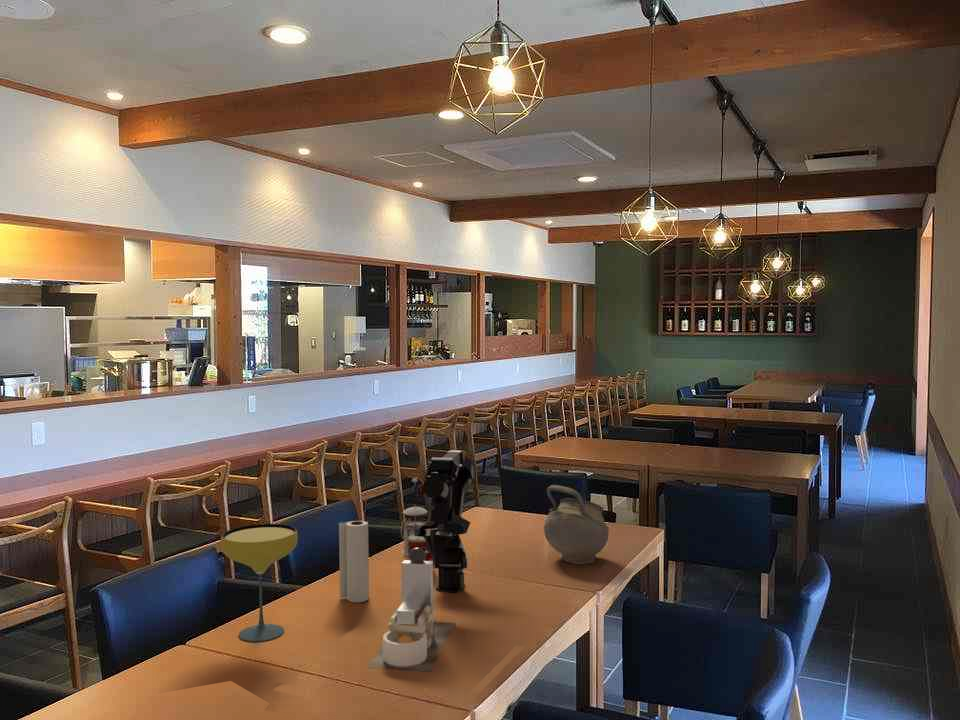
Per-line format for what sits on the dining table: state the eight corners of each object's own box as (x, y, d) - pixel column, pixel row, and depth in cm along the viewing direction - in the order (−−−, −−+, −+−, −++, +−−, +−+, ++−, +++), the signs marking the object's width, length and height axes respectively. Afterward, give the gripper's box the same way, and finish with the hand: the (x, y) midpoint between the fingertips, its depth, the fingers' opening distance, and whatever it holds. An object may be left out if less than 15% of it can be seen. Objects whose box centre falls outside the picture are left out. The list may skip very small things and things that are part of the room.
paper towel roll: (373, 599, 217) (372, 522, 216) (356, 604, 212) (355, 526, 211) (357, 593, 221) (356, 518, 221) (340, 598, 217) (338, 522, 216)
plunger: (406, 631, 189) (404, 544, 188) (434, 633, 188) (433, 545, 187) (390, 654, 176) (389, 560, 175) (421, 656, 175) (420, 562, 174)
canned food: (404, 574, 238) (403, 538, 238) (415, 567, 245) (415, 532, 245) (426, 577, 235) (426, 541, 235) (438, 569, 242) (437, 534, 242)
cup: (375, 662, 172) (374, 640, 172) (397, 646, 181) (397, 625, 181) (413, 670, 168) (413, 647, 168) (434, 653, 177) (434, 631, 177)
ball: (399, 640, 178) (394, 655, 175) (400, 629, 176) (394, 644, 173) (416, 645, 178) (411, 660, 174) (417, 634, 175) (412, 648, 172)
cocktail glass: (219, 626, 197) (217, 528, 196) (292, 615, 205) (290, 520, 204) (226, 653, 181) (224, 546, 180) (305, 640, 188) (303, 537, 187)
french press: (436, 551, 263) (435, 476, 262) (415, 559, 253) (414, 482, 252) (412, 546, 268) (411, 474, 267) (391, 555, 258) (390, 479, 257)
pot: (564, 573, 238) (563, 491, 237) (532, 555, 256) (532, 479, 255) (621, 564, 246) (621, 485, 245) (587, 548, 265) (586, 474, 264)
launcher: (400, 624, 197) (400, 586, 197) (455, 627, 195) (454, 589, 195) (366, 673, 170) (366, 629, 169) (429, 677, 168) (429, 632, 167)
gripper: (483, 503, 207) (480, 564, 203) (451, 509, 223) (447, 566, 218) (446, 498, 202) (442, 561, 198) (415, 505, 218) (411, 563, 213)
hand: (436, 563), depth 207 cm, fingers closed
